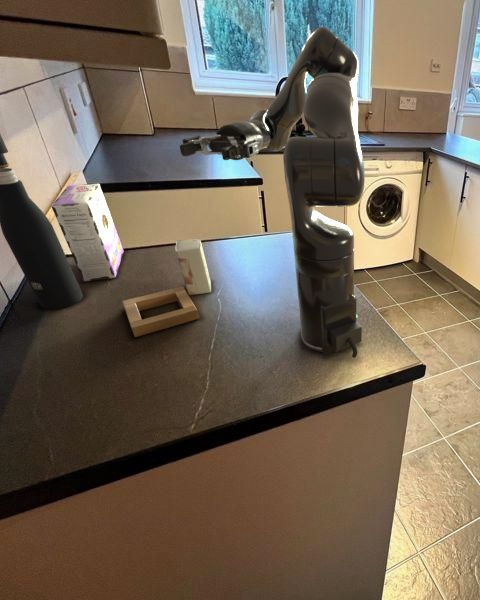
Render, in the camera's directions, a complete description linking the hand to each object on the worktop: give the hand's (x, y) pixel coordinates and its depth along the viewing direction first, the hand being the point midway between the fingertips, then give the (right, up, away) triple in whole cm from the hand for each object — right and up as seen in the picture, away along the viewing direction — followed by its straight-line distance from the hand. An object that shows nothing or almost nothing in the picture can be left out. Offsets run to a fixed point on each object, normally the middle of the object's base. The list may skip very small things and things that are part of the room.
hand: (203, 152), depth 75 cm
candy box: (-27, -22, +10) cm, 36 cm away
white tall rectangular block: (-3, -27, +4) cm, 27 cm away
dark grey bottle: (-25, -29, -3) cm, 39 cm away
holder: (-5, -32, -5) cm, 33 cm away
